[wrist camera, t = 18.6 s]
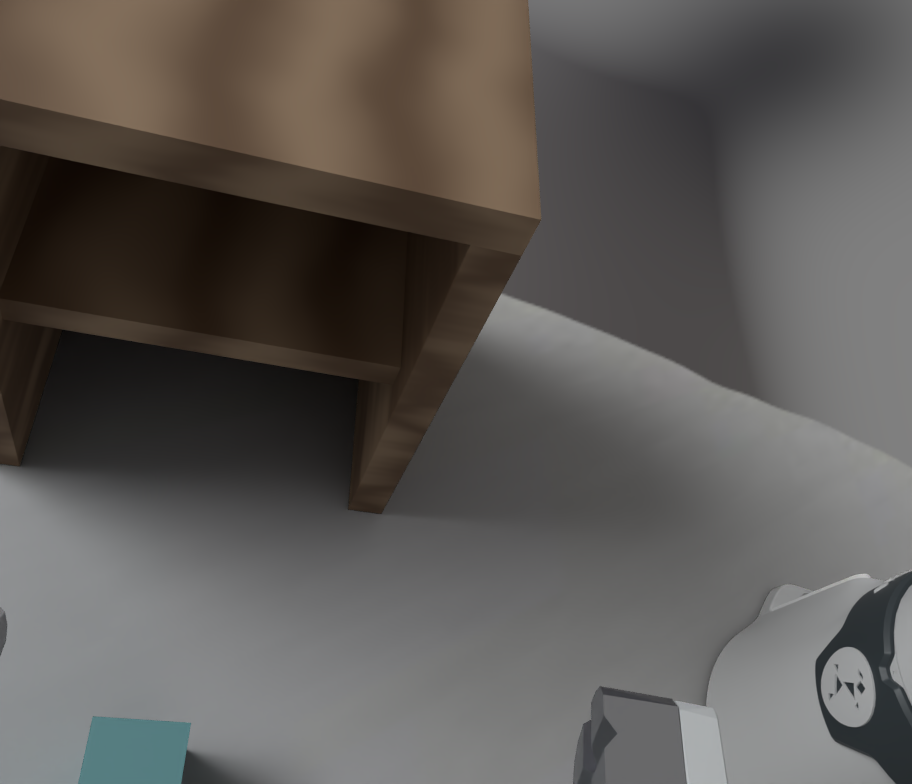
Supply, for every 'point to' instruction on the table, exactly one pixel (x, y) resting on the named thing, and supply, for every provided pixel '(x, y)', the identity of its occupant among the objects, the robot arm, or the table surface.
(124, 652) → the table surface
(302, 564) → the table surface
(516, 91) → the brown wooden box
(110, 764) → the teal rectangular bar
